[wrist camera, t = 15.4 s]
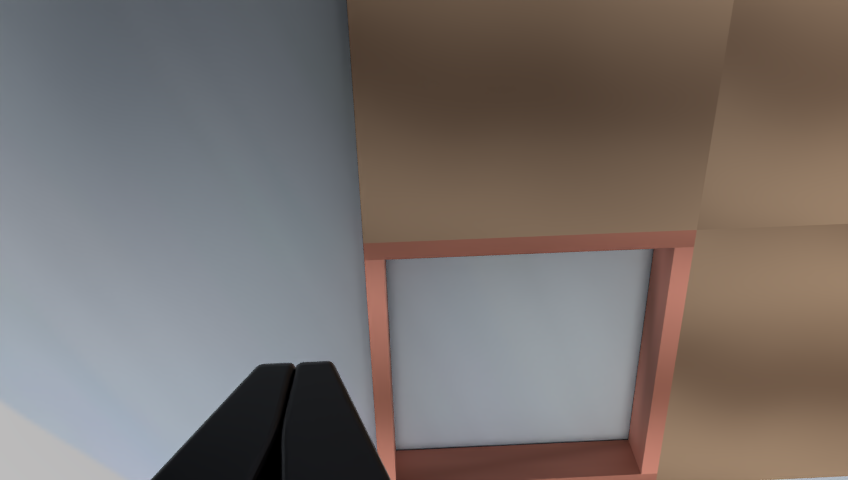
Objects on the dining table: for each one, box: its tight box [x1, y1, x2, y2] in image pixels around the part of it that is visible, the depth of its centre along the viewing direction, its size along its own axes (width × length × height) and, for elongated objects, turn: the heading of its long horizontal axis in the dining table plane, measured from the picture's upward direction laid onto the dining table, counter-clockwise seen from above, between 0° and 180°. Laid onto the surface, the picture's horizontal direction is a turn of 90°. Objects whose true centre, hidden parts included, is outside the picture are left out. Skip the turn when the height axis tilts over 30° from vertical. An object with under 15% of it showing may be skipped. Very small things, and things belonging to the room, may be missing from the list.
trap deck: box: [347, 0, 848, 480], centre depth 21 cm, size 18×26×2 cm
